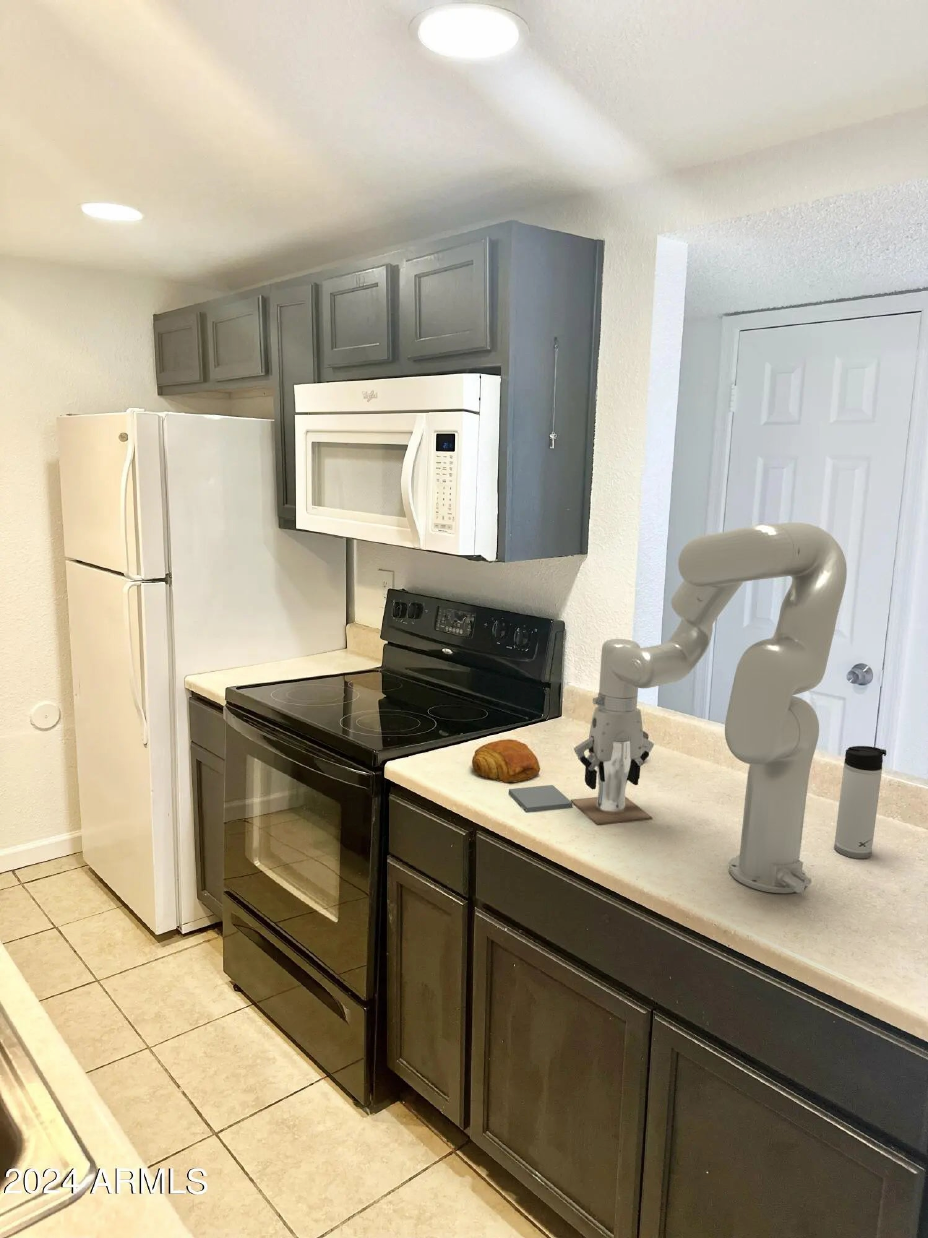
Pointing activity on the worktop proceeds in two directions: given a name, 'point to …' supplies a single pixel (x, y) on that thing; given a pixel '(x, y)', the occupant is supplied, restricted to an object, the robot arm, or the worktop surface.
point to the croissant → (505, 761)
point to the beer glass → (614, 779)
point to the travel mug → (858, 801)
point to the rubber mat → (540, 798)
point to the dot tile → (604, 818)
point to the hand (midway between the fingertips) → (611, 784)
